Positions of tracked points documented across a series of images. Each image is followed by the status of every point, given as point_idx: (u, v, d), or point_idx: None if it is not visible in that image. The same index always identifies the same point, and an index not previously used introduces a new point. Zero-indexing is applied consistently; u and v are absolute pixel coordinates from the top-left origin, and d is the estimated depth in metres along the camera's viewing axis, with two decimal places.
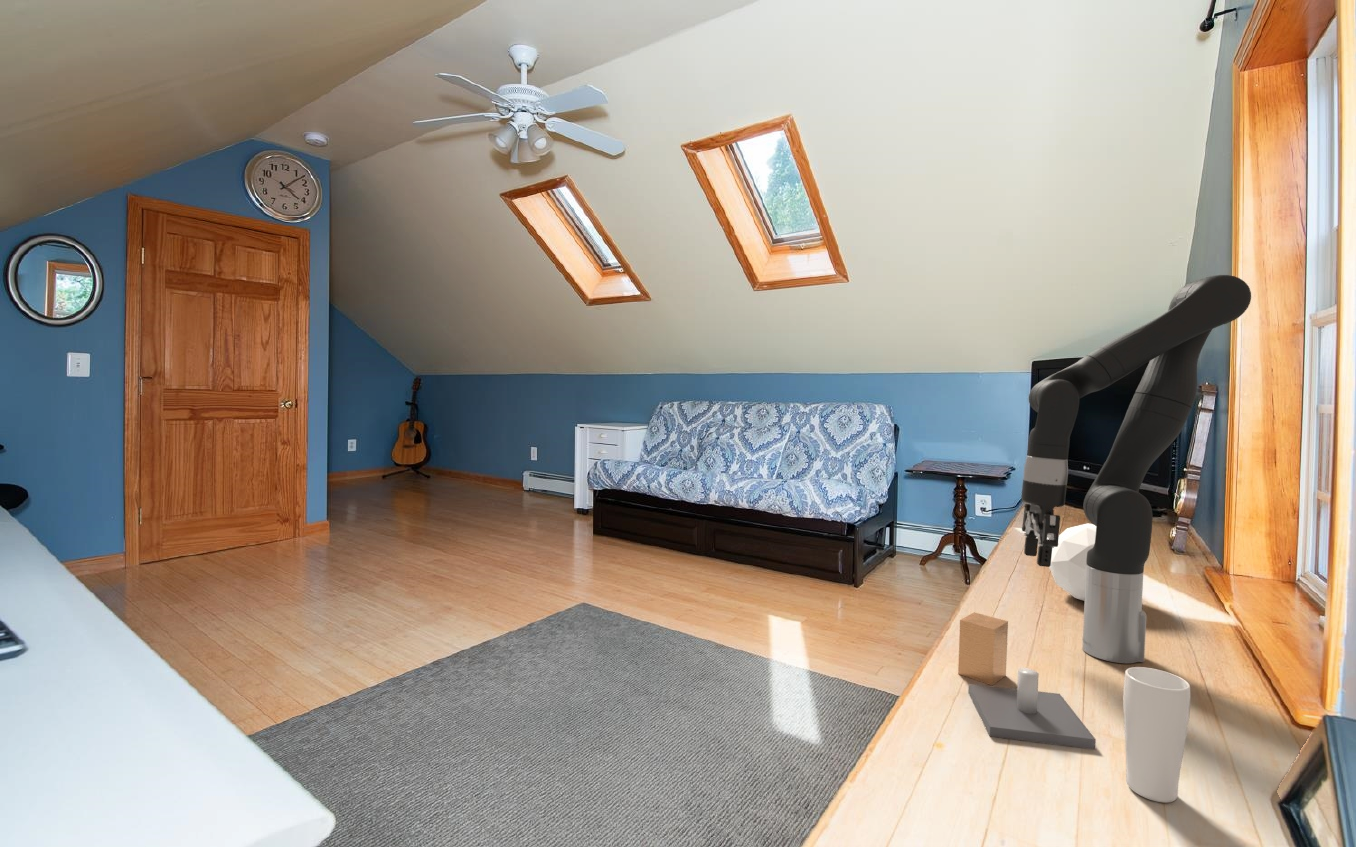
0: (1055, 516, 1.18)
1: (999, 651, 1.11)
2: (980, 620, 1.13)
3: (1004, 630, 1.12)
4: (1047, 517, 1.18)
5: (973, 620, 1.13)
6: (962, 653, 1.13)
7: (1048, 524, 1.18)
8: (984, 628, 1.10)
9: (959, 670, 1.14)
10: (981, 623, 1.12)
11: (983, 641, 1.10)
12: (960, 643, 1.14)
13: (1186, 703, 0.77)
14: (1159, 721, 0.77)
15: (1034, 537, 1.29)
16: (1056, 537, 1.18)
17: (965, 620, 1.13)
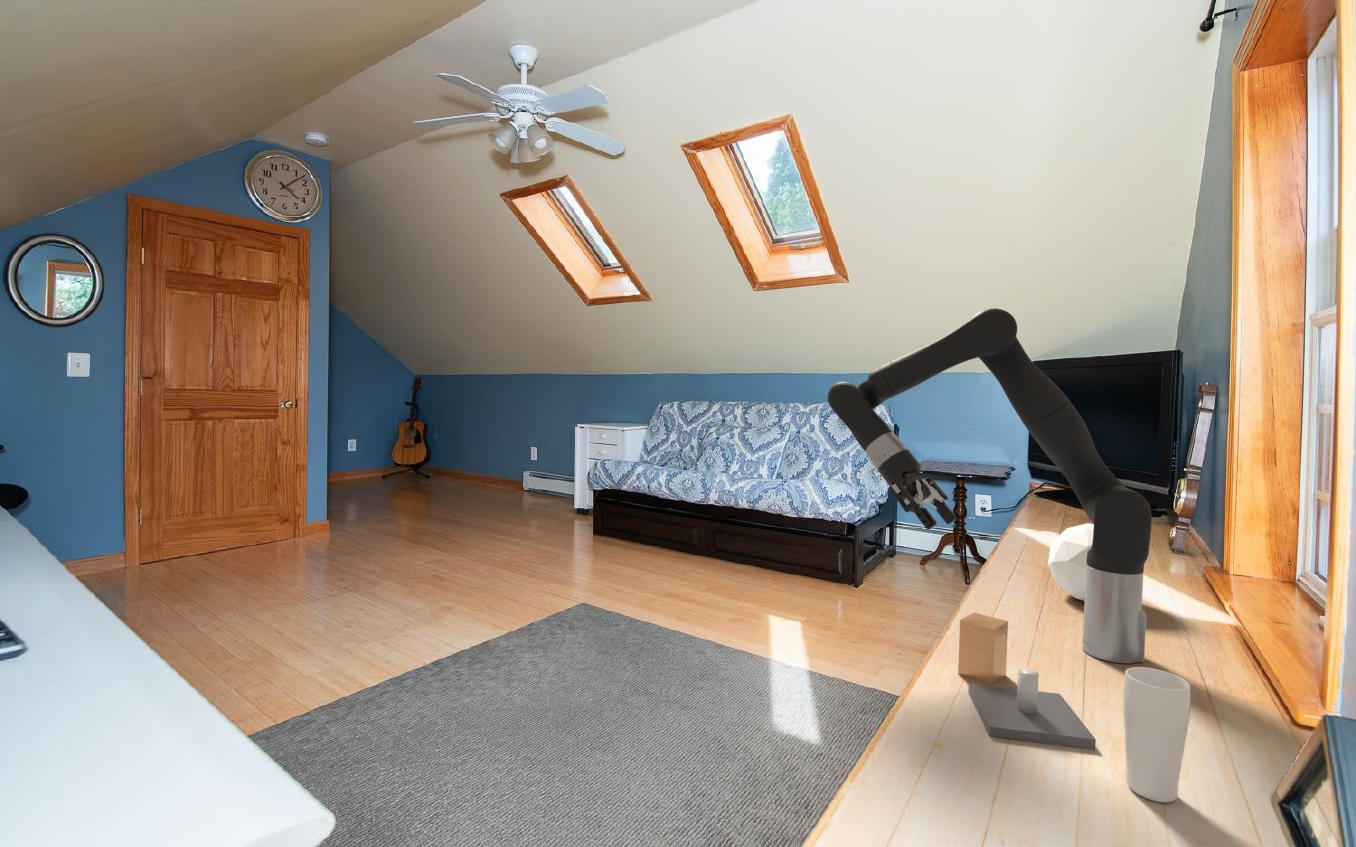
0: (895, 483, 1.23)
1: (999, 651, 1.11)
2: (980, 620, 1.13)
3: (1004, 630, 1.12)
4: (891, 489, 1.23)
5: (973, 620, 1.13)
6: (962, 653, 1.13)
7: (895, 493, 1.23)
8: (984, 628, 1.10)
9: (959, 670, 1.14)
10: (981, 623, 1.12)
11: (983, 641, 1.10)
12: (960, 643, 1.14)
13: (1186, 703, 0.77)
14: (1159, 721, 0.77)
15: (941, 504, 1.27)
16: (908, 498, 1.21)
17: (965, 620, 1.13)
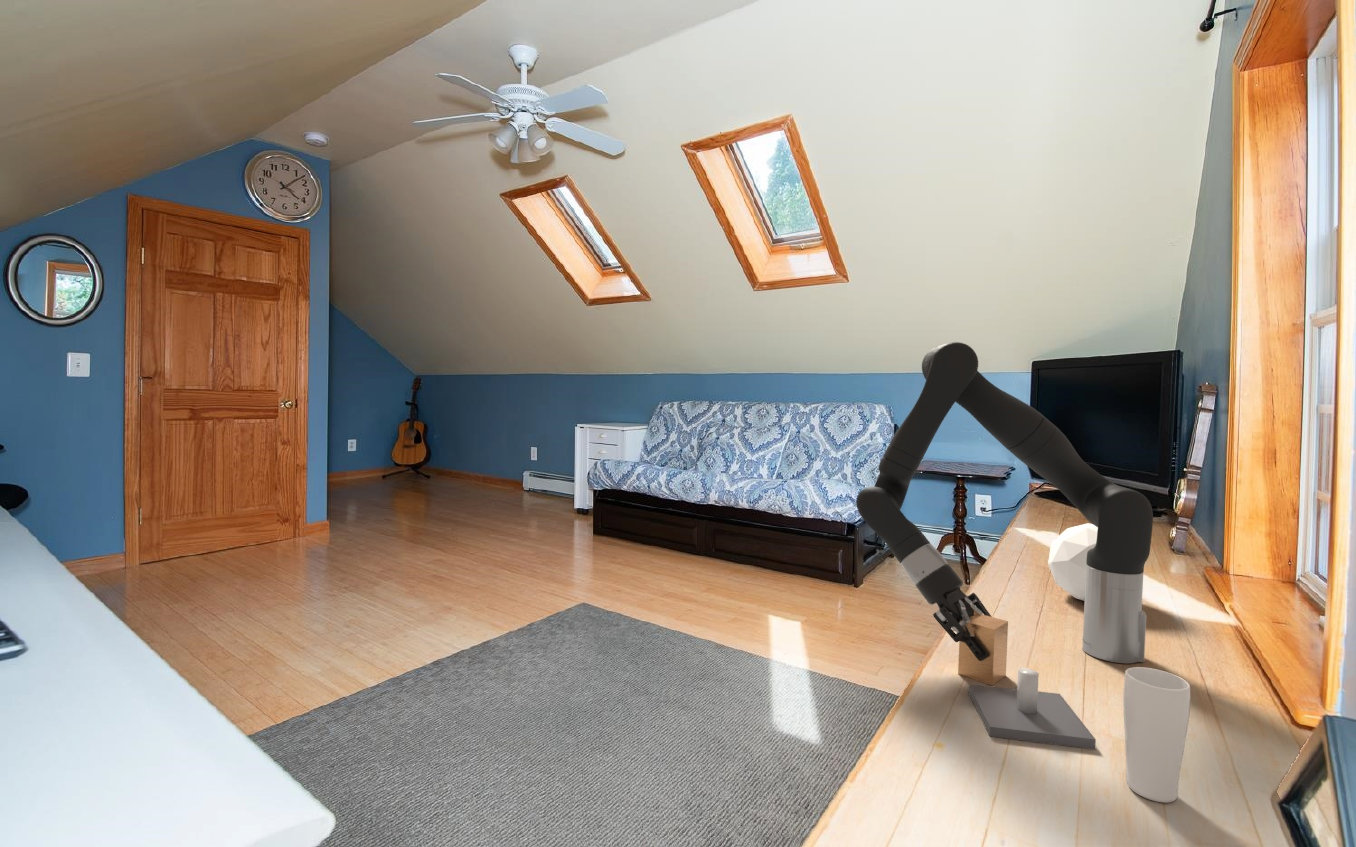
0: (939, 611, 1.12)
1: (999, 651, 1.11)
2: (980, 620, 1.13)
3: (1004, 630, 1.12)
4: (935, 616, 1.13)
5: (973, 620, 1.13)
6: (962, 653, 1.13)
7: (941, 622, 1.12)
8: (984, 628, 1.10)
9: (959, 670, 1.14)
10: (981, 623, 1.12)
11: (983, 641, 1.10)
12: (960, 643, 1.14)
13: (1186, 703, 0.77)
14: (1159, 721, 0.77)
15: None
16: (957, 628, 1.11)
17: None
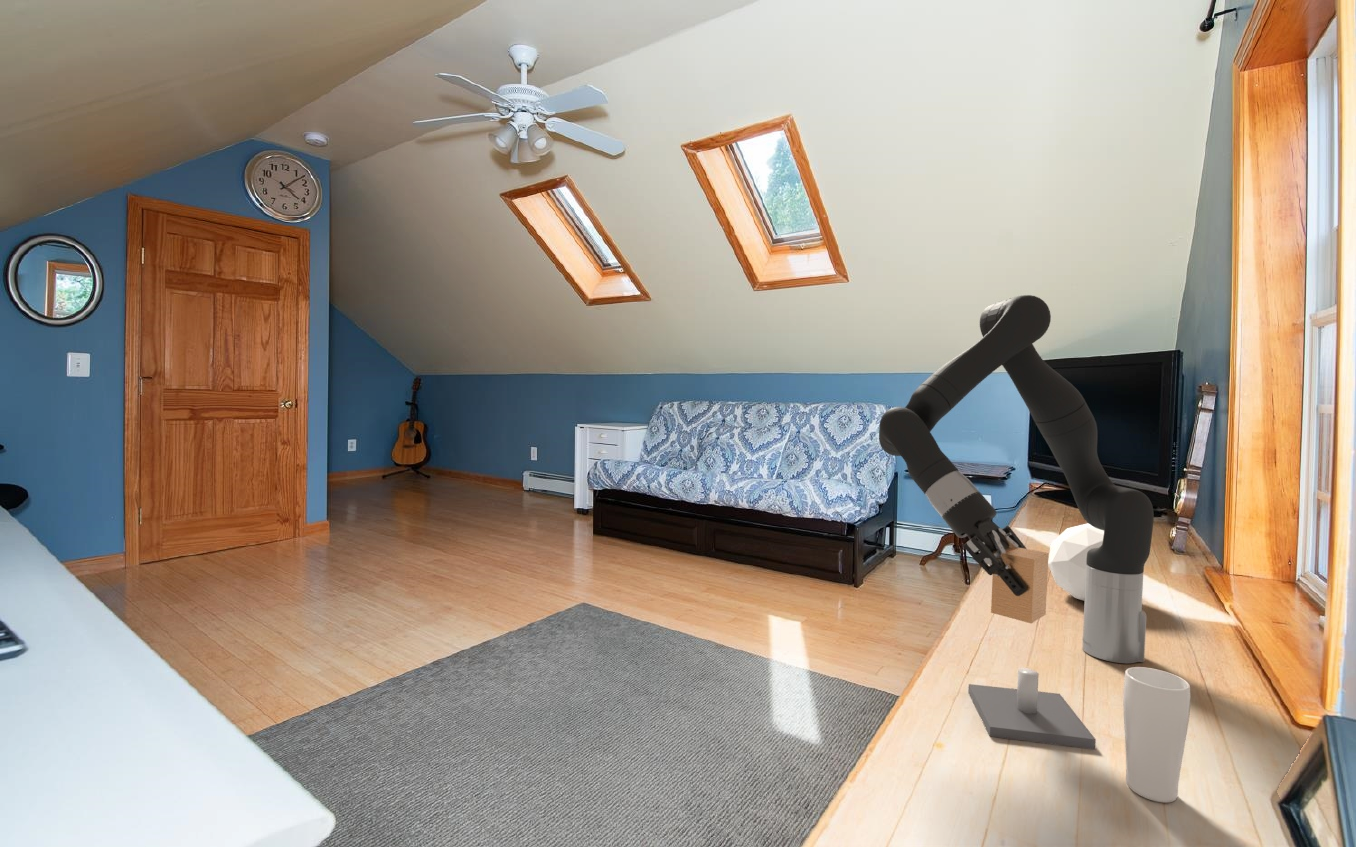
0: (971, 540, 0.99)
1: (1039, 586, 0.98)
2: (1017, 552, 1.00)
3: (1044, 562, 0.99)
4: (965, 547, 1.00)
5: (1008, 552, 1.00)
6: (996, 589, 1.00)
7: (973, 553, 0.99)
8: (1022, 559, 0.97)
9: (992, 608, 1.01)
10: (1018, 554, 0.98)
11: (1021, 574, 0.97)
12: (994, 578, 1.00)
13: (1186, 703, 0.77)
14: (1159, 721, 0.77)
15: None
16: (991, 559, 0.97)
17: None
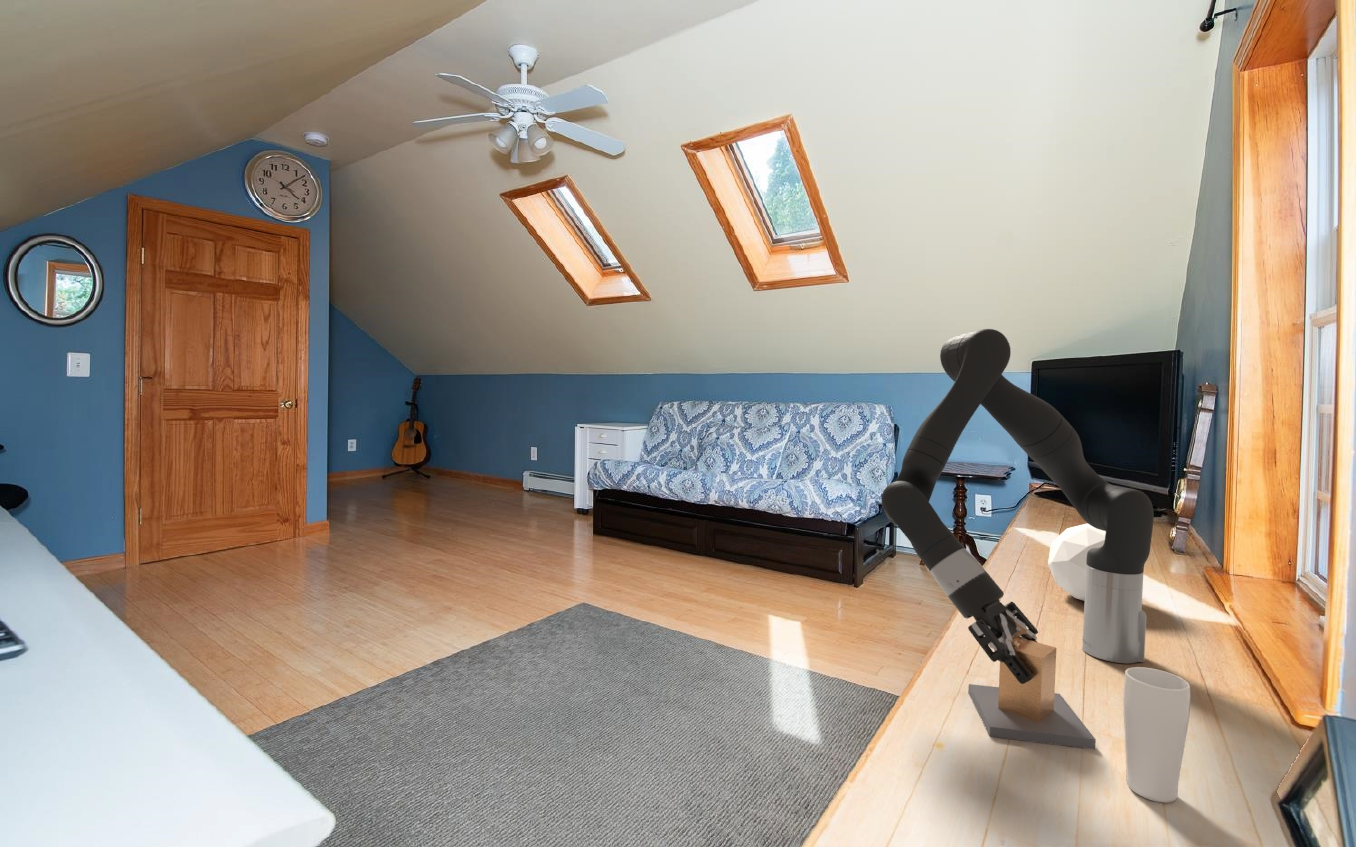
0: (976, 623, 0.97)
1: (1047, 683, 0.96)
2: (1024, 646, 0.98)
3: (1052, 658, 0.97)
4: (970, 629, 0.98)
5: (1016, 646, 0.98)
6: (1003, 684, 0.98)
7: (977, 636, 0.97)
8: (1030, 656, 0.95)
9: (999, 704, 0.99)
10: (1025, 651, 0.96)
11: None
12: (1001, 673, 0.98)
13: (1186, 703, 0.77)
14: (1159, 721, 0.77)
15: None
16: (995, 645, 0.95)
17: None
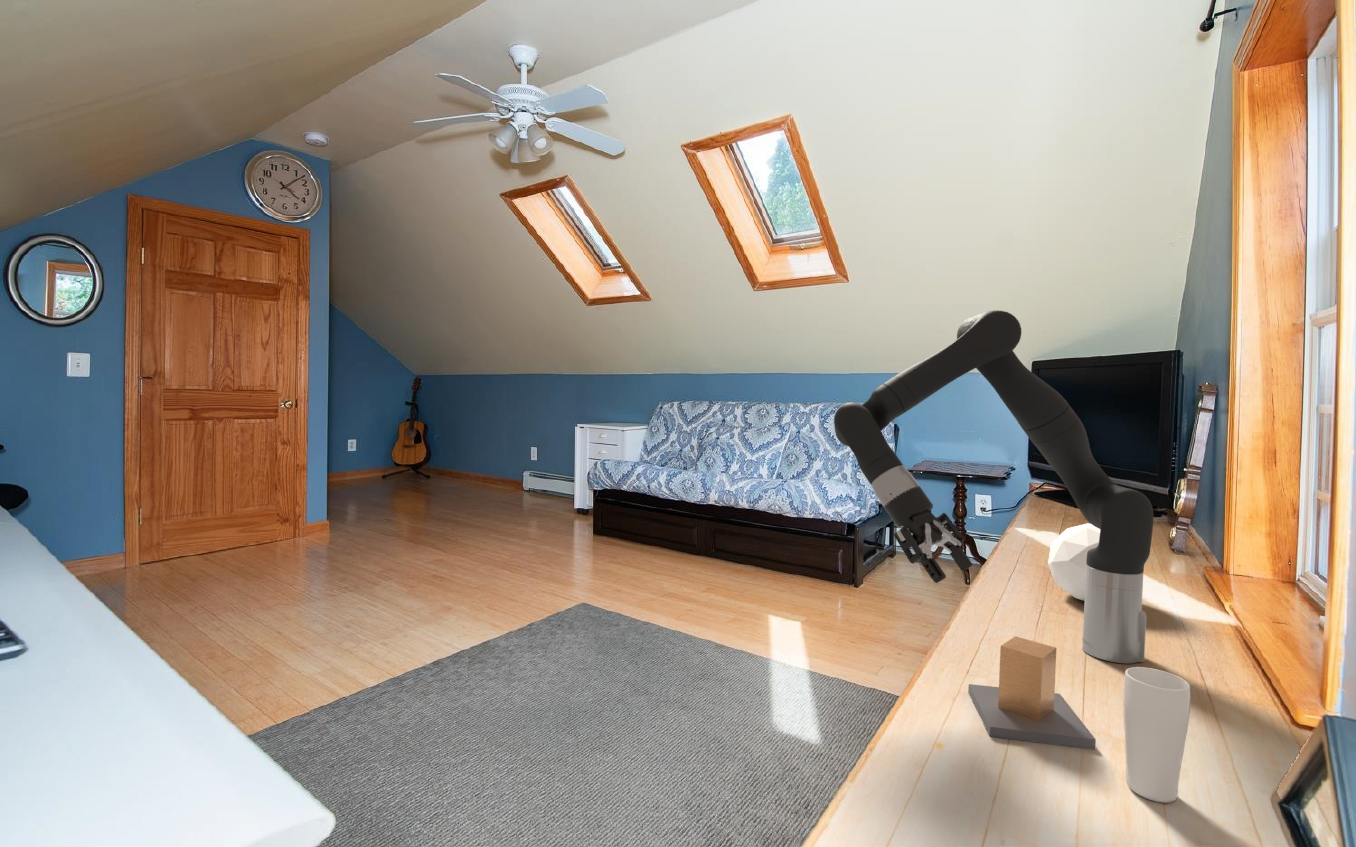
0: (900, 530, 1.09)
1: (1047, 683, 0.96)
2: (1024, 646, 0.98)
3: (1052, 658, 0.97)
4: (895, 535, 1.10)
5: (1016, 646, 0.98)
6: (1003, 684, 0.98)
7: (900, 541, 1.09)
8: (1030, 656, 0.95)
9: (999, 704, 0.99)
10: (1025, 651, 0.96)
11: (1029, 672, 0.95)
12: (1001, 673, 0.98)
13: (1186, 703, 0.77)
14: (1159, 721, 0.77)
15: (955, 548, 1.13)
16: (913, 549, 1.07)
17: (1007, 646, 0.98)
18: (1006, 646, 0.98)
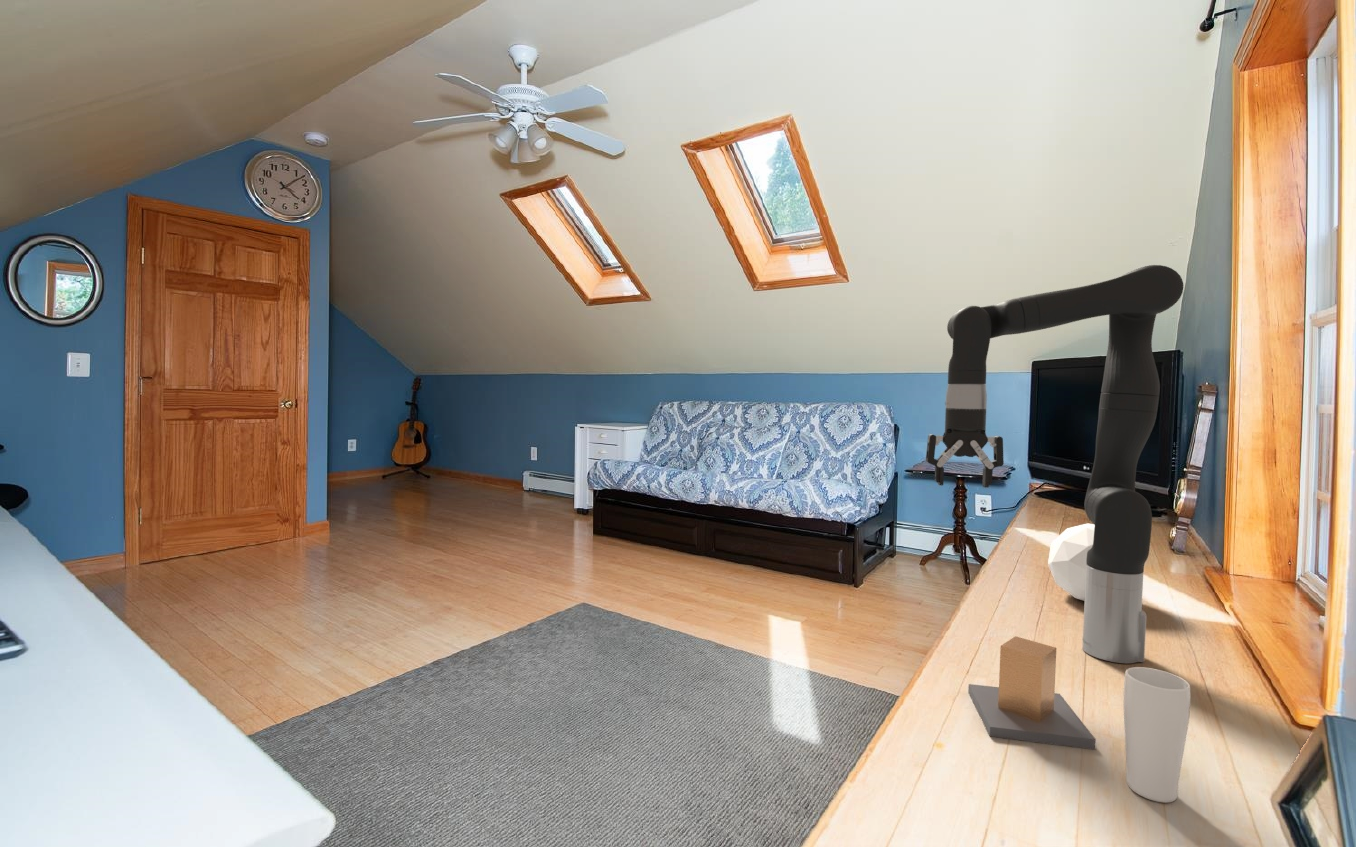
0: (930, 435, 1.28)
1: (1047, 683, 0.96)
2: (1024, 646, 0.98)
3: (1052, 658, 0.97)
4: (928, 436, 1.30)
5: (1016, 646, 0.98)
6: (1003, 684, 0.98)
7: (927, 442, 1.30)
8: (1030, 656, 0.95)
9: (999, 704, 0.99)
10: (1025, 651, 0.96)
11: (1029, 672, 0.95)
12: (1001, 673, 0.98)
13: (1186, 703, 0.77)
14: (1159, 721, 0.77)
15: (985, 468, 1.26)
16: None
17: (1007, 646, 0.98)
18: (1006, 646, 0.98)
